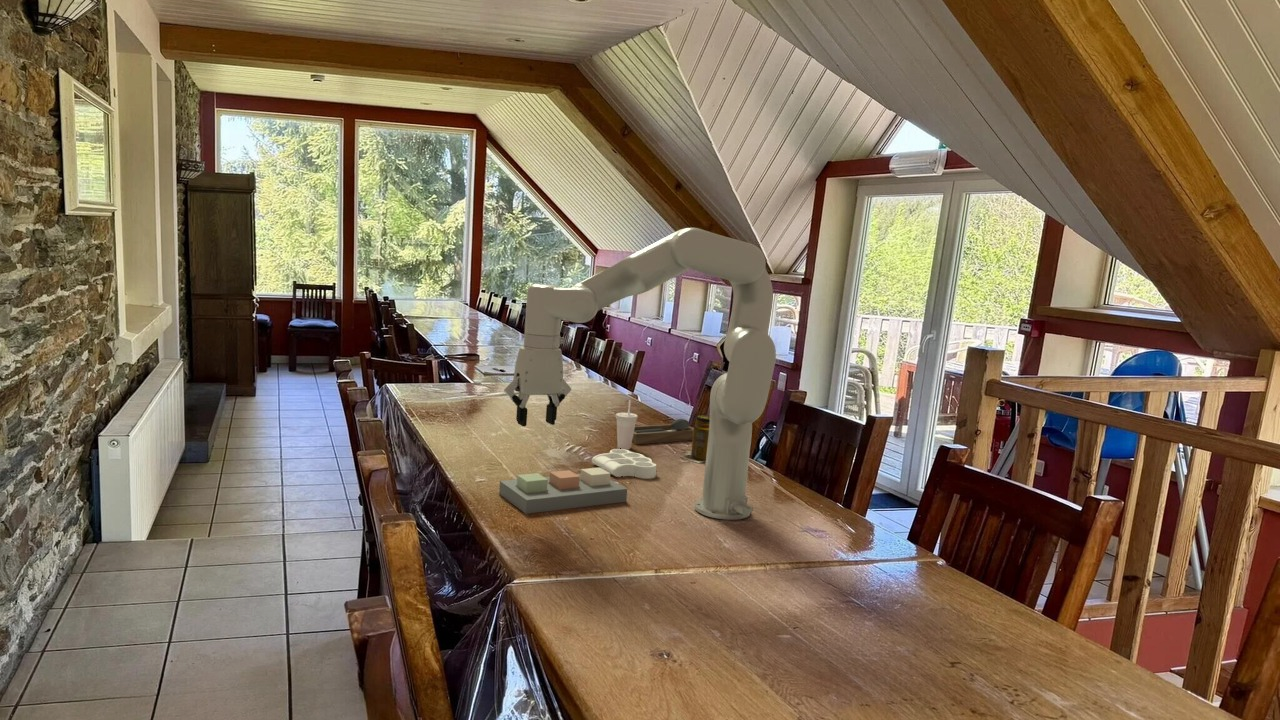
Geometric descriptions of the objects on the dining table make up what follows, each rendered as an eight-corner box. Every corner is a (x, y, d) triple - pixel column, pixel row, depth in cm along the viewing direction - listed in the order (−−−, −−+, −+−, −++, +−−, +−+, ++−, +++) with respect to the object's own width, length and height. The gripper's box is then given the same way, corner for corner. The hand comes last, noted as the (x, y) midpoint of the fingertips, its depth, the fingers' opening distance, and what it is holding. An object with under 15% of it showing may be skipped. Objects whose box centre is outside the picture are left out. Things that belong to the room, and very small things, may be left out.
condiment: (718, 460, 227) (722, 418, 225) (698, 463, 221) (702, 421, 219) (699, 453, 232) (703, 413, 230) (679, 457, 226) (683, 415, 224)
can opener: (680, 435, 253) (682, 416, 252) (690, 439, 249) (692, 419, 248) (630, 439, 242) (632, 419, 241) (639, 443, 238) (641, 422, 237)
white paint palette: (585, 463, 213) (633, 459, 221) (619, 482, 198) (668, 478, 206) (586, 450, 213) (634, 447, 221) (620, 469, 198) (669, 465, 205)
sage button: (546, 497, 176) (547, 479, 176) (525, 499, 174) (526, 481, 173) (536, 490, 180) (537, 473, 180) (516, 492, 178) (517, 475, 177)
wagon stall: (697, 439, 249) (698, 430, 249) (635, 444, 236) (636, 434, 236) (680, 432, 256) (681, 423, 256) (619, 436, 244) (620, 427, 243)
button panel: (626, 501, 183) (627, 488, 182) (525, 513, 169) (526, 500, 169) (595, 483, 194) (596, 471, 194) (499, 493, 181) (500, 480, 180)
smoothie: (632, 451, 228) (636, 403, 226) (610, 448, 229) (614, 400, 227) (637, 446, 234) (641, 399, 232) (615, 443, 235) (619, 396, 233)
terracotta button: (578, 493, 181) (579, 476, 180) (558, 495, 178) (560, 478, 177) (568, 487, 185) (569, 470, 184) (548, 489, 182) (549, 472, 182)
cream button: (609, 490, 185) (610, 473, 185) (590, 492, 182) (591, 475, 182) (598, 483, 189) (599, 467, 189) (579, 485, 187) (580, 469, 186)
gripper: (569, 340, 180) (563, 418, 183) (497, 339, 171) (492, 422, 173) (585, 345, 174) (579, 426, 176) (511, 344, 165) (506, 430, 167)
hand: (536, 423), depth 175 cm, fingers open, 6 cm apart
